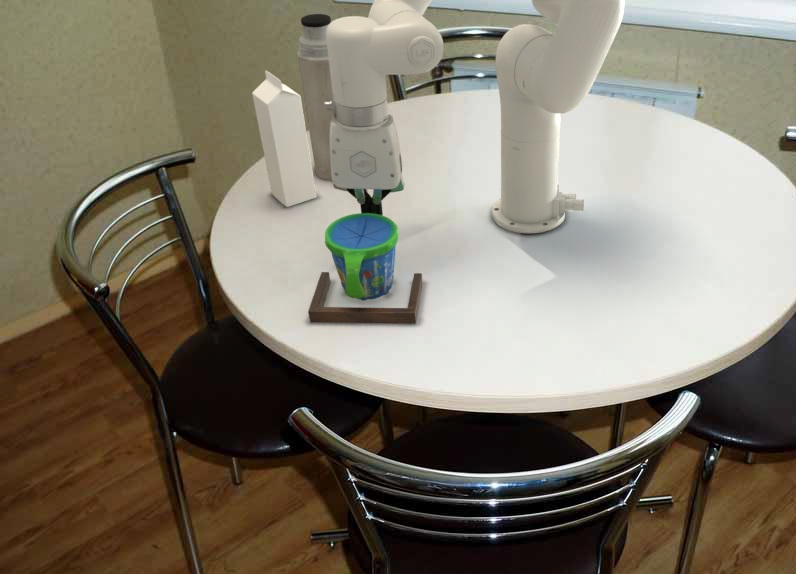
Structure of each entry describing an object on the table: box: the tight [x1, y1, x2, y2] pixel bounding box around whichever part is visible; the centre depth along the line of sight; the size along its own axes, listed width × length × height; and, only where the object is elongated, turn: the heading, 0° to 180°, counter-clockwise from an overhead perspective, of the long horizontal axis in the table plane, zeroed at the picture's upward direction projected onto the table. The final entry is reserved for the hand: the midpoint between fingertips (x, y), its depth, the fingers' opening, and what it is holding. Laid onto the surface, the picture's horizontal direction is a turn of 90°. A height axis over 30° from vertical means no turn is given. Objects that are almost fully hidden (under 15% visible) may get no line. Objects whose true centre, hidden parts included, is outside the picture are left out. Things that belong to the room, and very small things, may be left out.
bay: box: [307, 271, 424, 325], centre depth 124 cm, size 15×10×2 cm, turn 89°
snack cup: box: [324, 212, 399, 302], centre depth 124 cm, size 16×10×10 cm
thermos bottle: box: [296, 13, 334, 181], centre depth 148 cm, size 8×8×28 cm
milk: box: [251, 69, 317, 208], centre depth 143 cm, size 6×6×22 cm
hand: (372, 222), depth 131 cm, fingers closed
